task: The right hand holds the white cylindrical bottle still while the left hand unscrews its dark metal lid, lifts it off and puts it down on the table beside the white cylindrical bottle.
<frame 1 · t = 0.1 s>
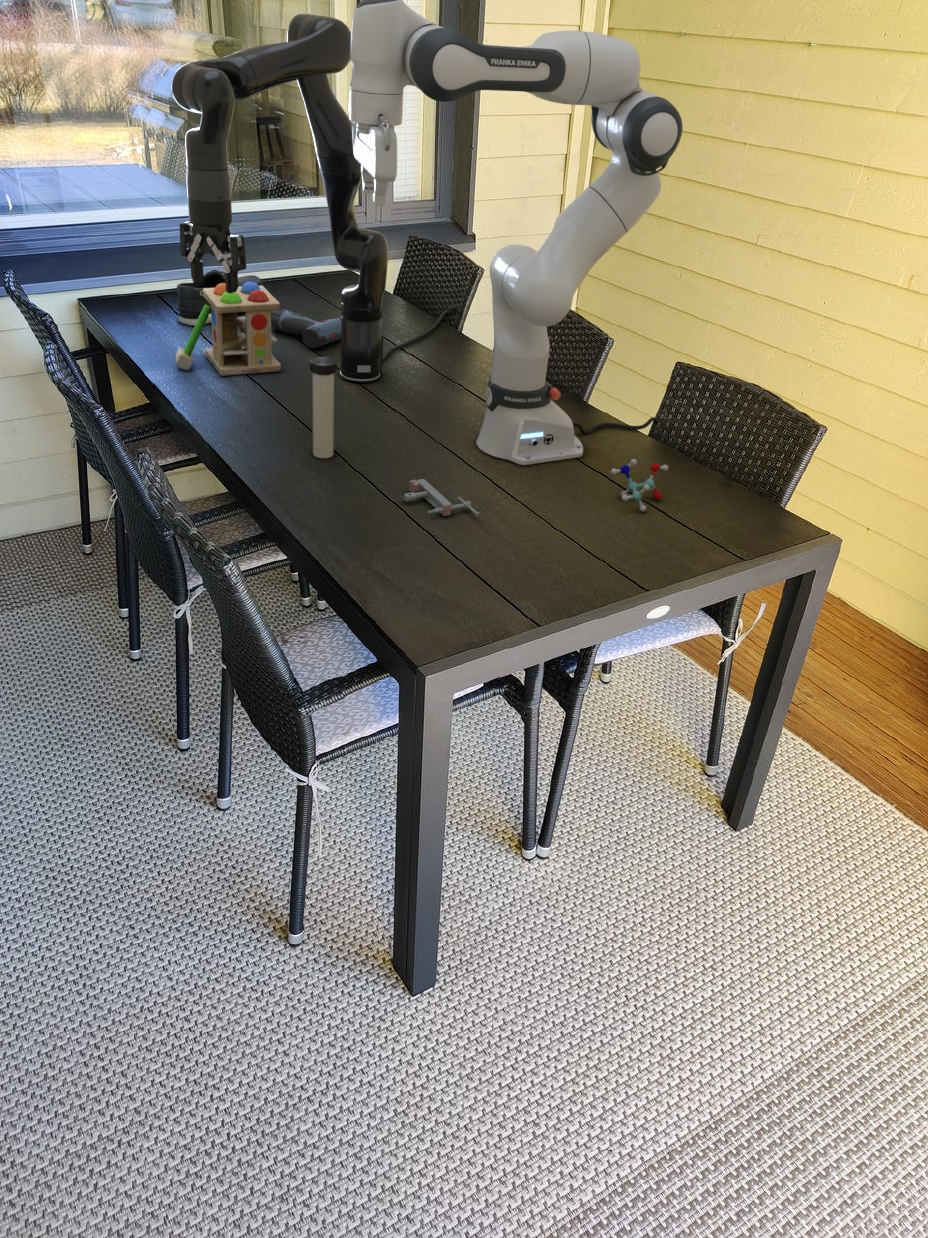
left hand: (214, 287, 183), 29 cm above the table, tool pointing down, fingers open, 8 cm apart
right hand: (373, 198, 171), 48 cm above the table, tool pointing down, fingers open, 8 cm apart
clamp: (437, 507, 181), on the table
lid: (323, 362, 185), point 19 cm above the table, screwed on, not yet turned
pounding bench toy: (225, 365, 230), on the table
white cylindrical bottle: (323, 453, 195), on the table
boat shoe: (223, 309, 264), on the table
molecular model: (633, 500, 190), on the table
power drill: (311, 334, 253), on the table
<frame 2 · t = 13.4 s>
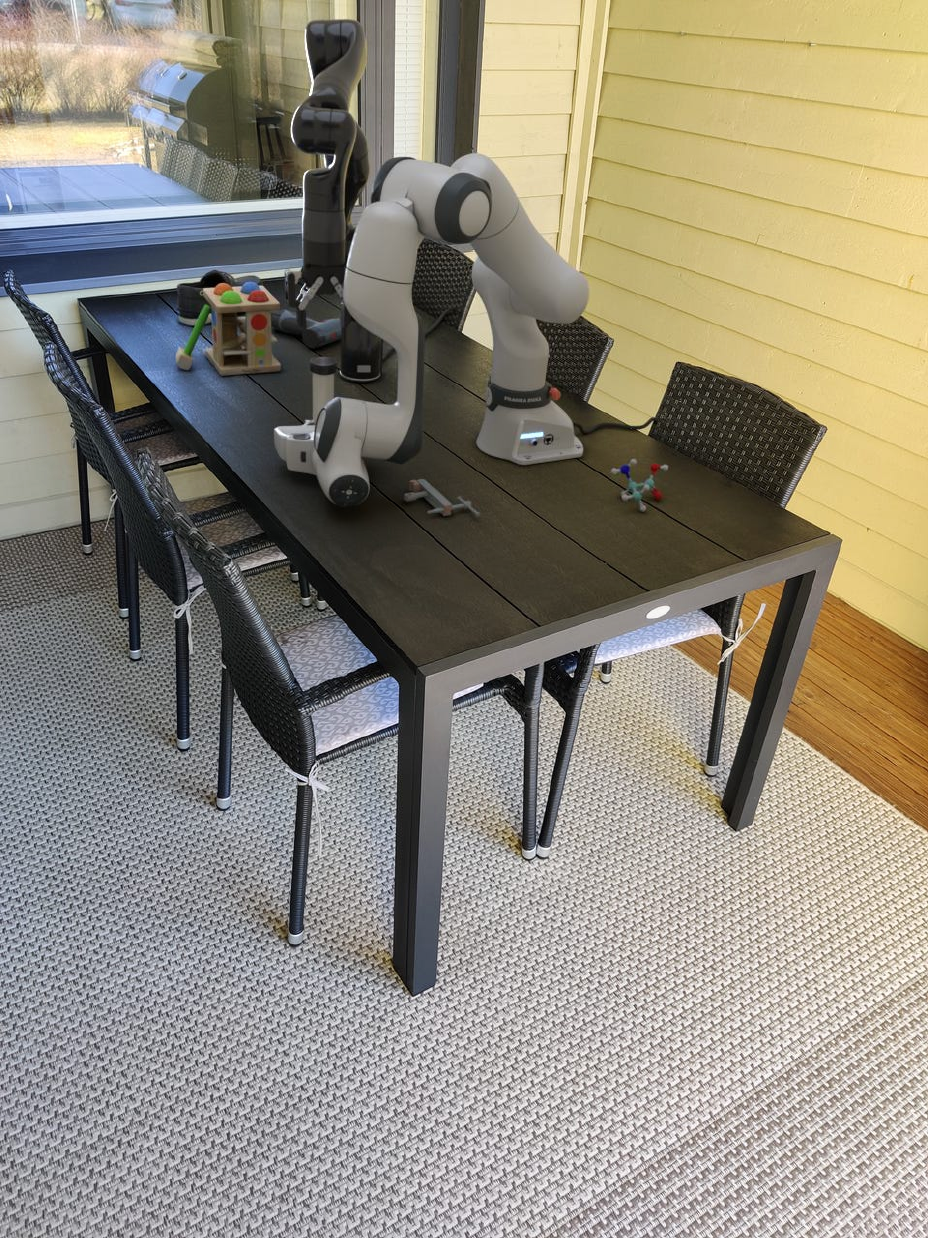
left hand: (323, 327, 181), 25 cm above the table, tool pointing down, fingers open, 7 cm apart
right hand: (322, 422, 193), 6 cm above the table, tool horizontal, fingers closed on white cylindrical bottle, 4 cm apart
white cylindrical bottle: (323, 453, 195), on the table, touching right hand
everything else where it was.
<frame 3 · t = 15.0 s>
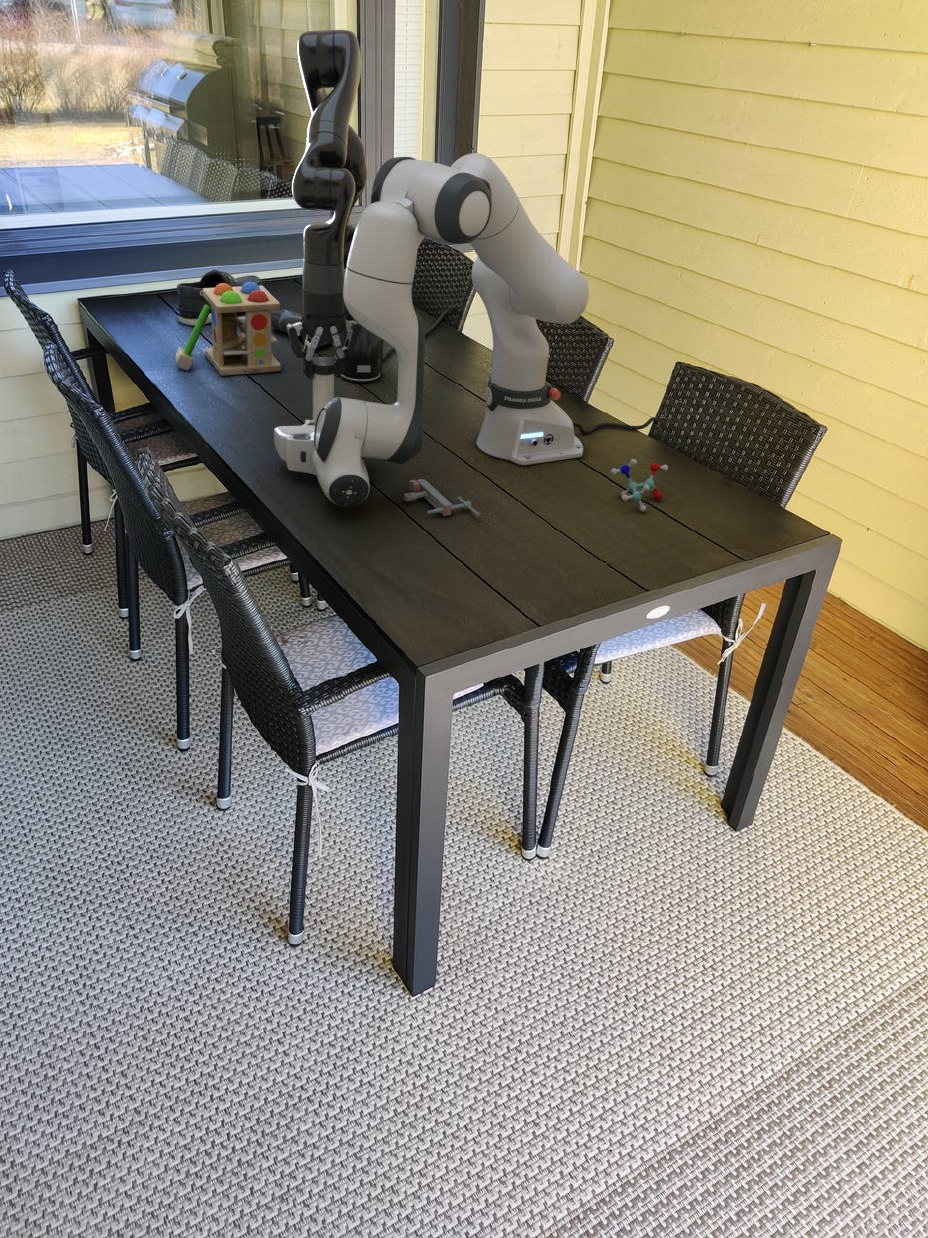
left hand: (323, 376, 186), 16 cm above the table, tool pointing down, fingers closed on lid, 4 cm apart
right hand: (322, 422, 192), 6 cm above the table, tool horizontal, fingers closed on white cylindrical bottle, 4 cm apart
lid: (323, 362, 185), point 19 cm above the table, screwed on, not yet turned, touching left hand
white cylindrical bottle: (323, 453, 195), on the table, touching right hand
everything else where it was.
when the left hand's fingers open (16 cm above the table, at t = 16.8 s): lid stays where it is, point 19 cm above the table.
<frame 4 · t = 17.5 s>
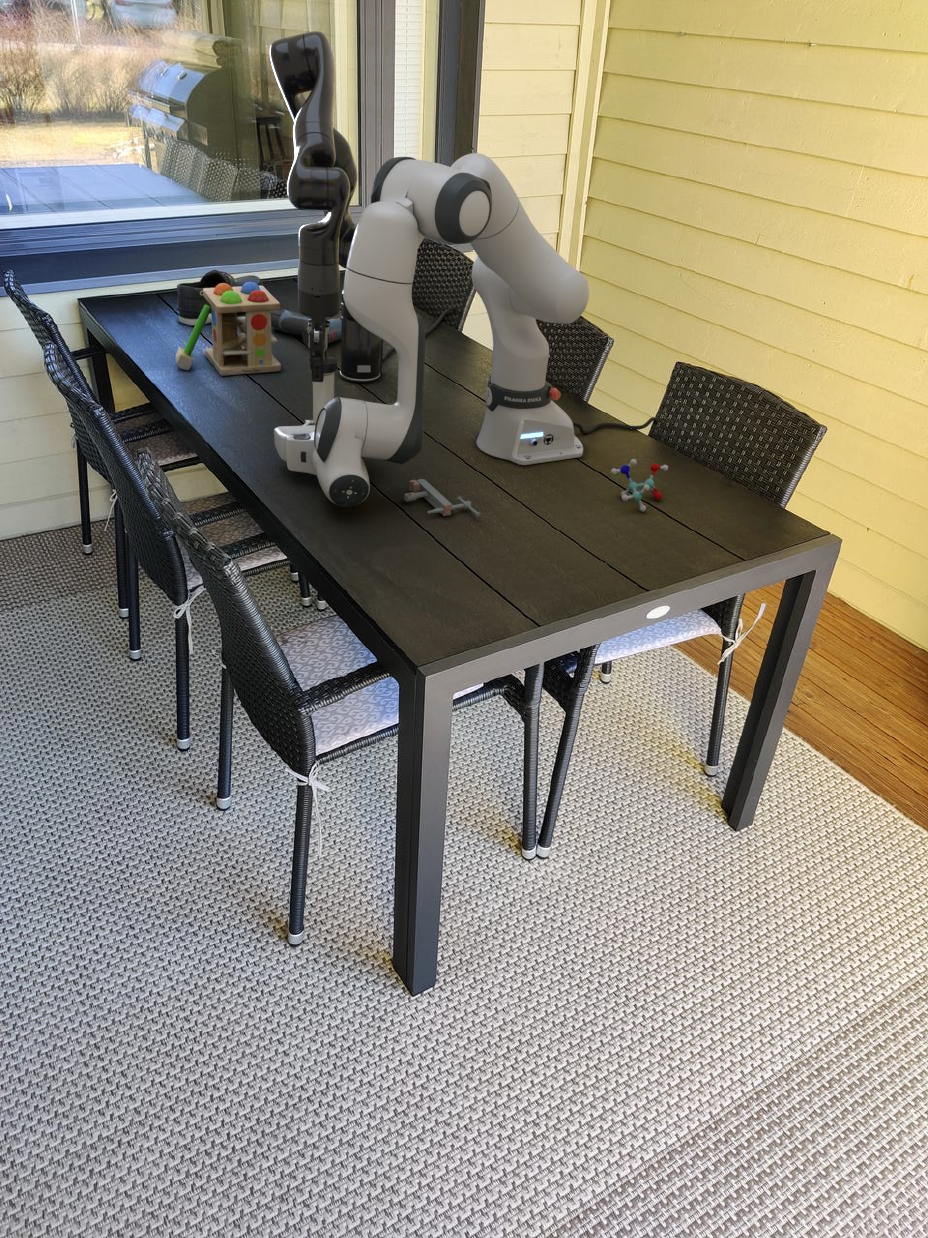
left hand: (319, 373, 186), 16 cm above the table, tool pointing down, fingers open, 7 cm apart
right hand: (322, 422, 192), 6 cm above the table, tool horizontal, fingers closed on white cylindrical bottle, 4 cm apart
lid: (323, 361, 185), point 19 cm above the table, turned 104° so far, risen 0.3 cm, still on its thread
white cylindrical bottle: (323, 453, 195), on the table, touching right hand
everything else where it was.
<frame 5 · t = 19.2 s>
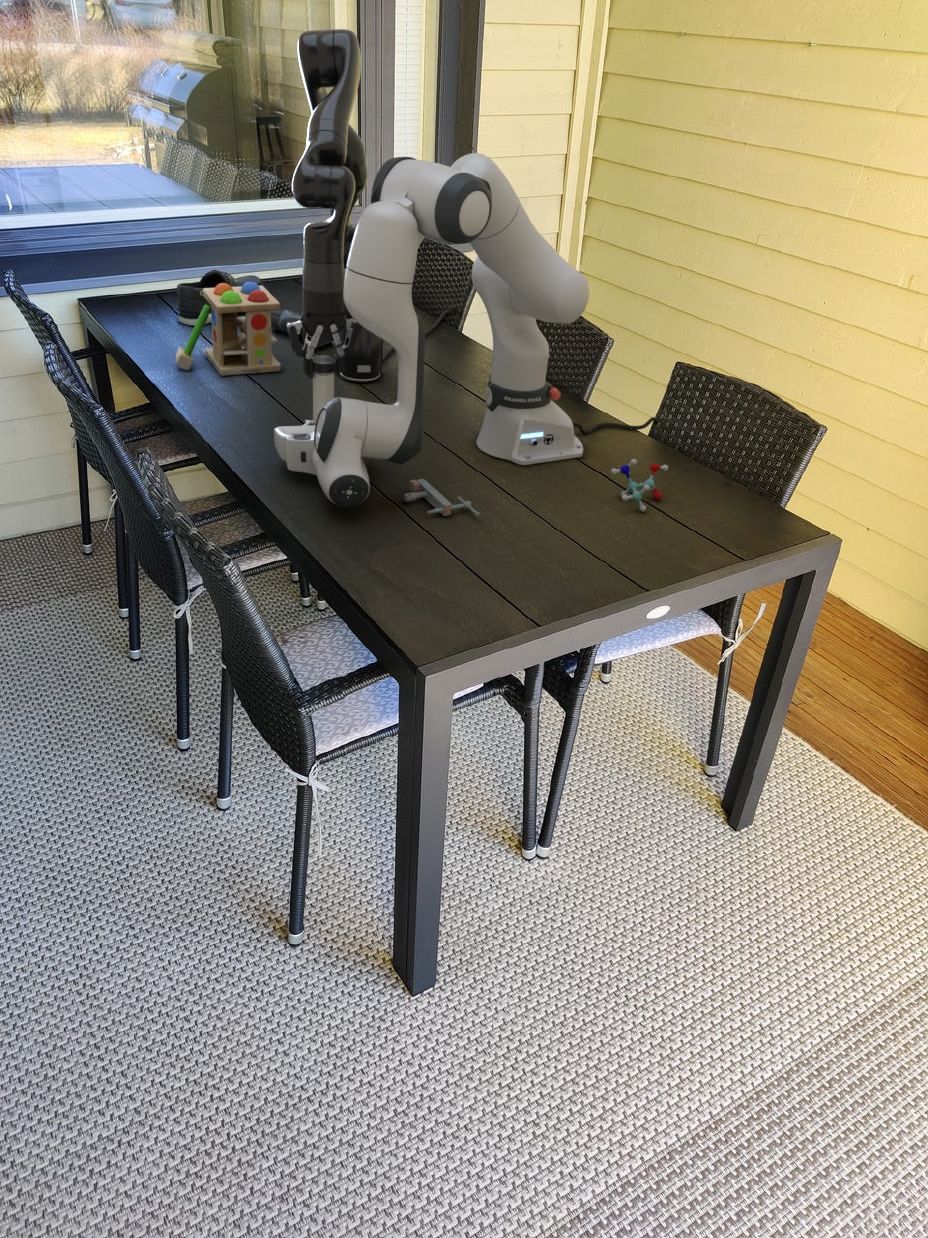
left hand: (323, 375, 186), 16 cm above the table, tool pointing down, fingers closed on lid, 4 cm apart
right hand: (322, 422, 192), 6 cm above the table, tool horizontal, fingers closed on white cylindrical bottle, 4 cm apart
lid: (323, 361, 185), point 19 cm above the table, turned 104° so far, risen 0.3 cm, still on its thread, touching left hand
white cylindrical bottle: (323, 453, 195), on the table, touching right hand
everything else where it was.
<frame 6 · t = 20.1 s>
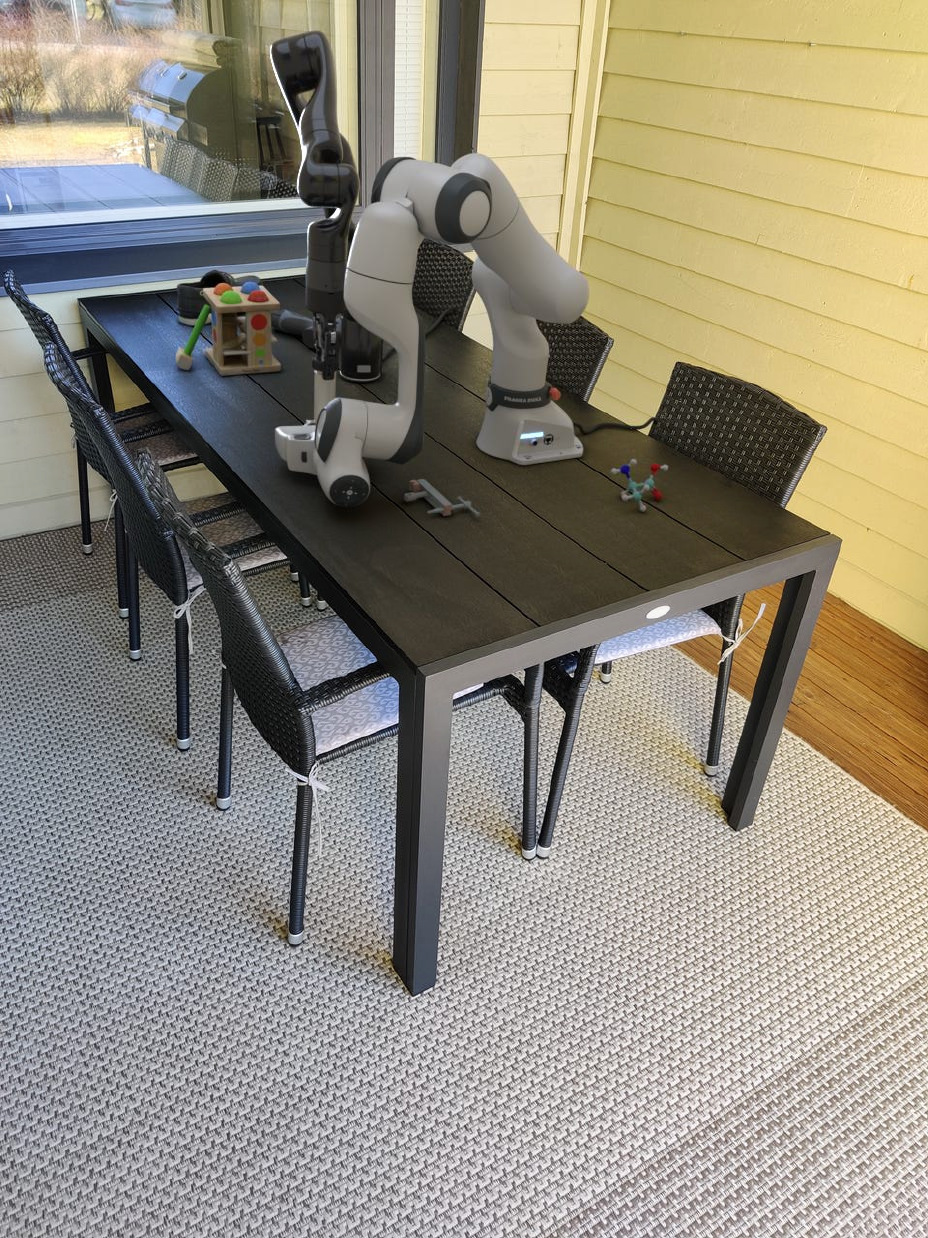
left hand: (325, 373, 186), 17 cm above the table, tool pointing down, fingers closed on lid, 4 cm apart
right hand: (323, 422, 193), 6 cm above the table, tool horizontal, fingers closed on white cylindrical bottle, 4 cm apart
lid: (325, 359, 185), point 19 cm above the table, turned 188° so far, risen 0.6 cm, still on its thread, touching left hand
white cylindrical bottle: (323, 453, 195), on the table, touching right hand
everything else where it was.
when the left hand's fingers open (0 cm above the table, at t = 25.8 s): lid drops 2 cm, point 1 cm above the table.
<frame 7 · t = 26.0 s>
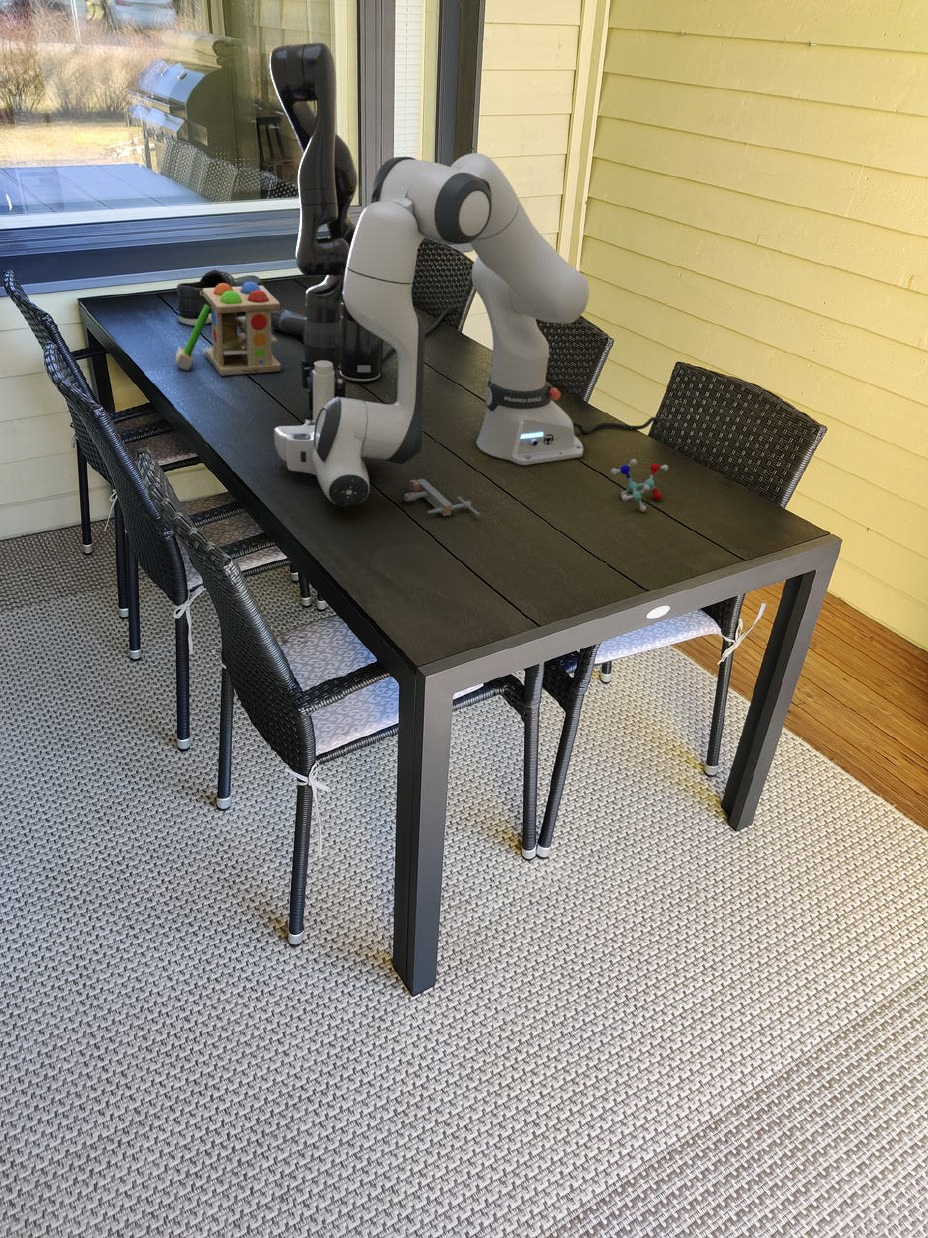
left hand: (323, 416, 209), 1 cm above the table, tool pointing down, fingers open, 6 cm apart
right hand: (322, 422, 193), 6 cm above the table, tool horizontal, fingers closed on white cylindrical bottle, 4 cm apart
lid: (322, 413, 208), point 1 cm above the table, off its thread
white cylindrical bottle: (323, 453, 195), on the table, touching right hand
everything else where it was.
when the right hand's fingers open (6 cm above the table, at t = 26.8 s): white cylindrical bottle stays where it is, on the table.
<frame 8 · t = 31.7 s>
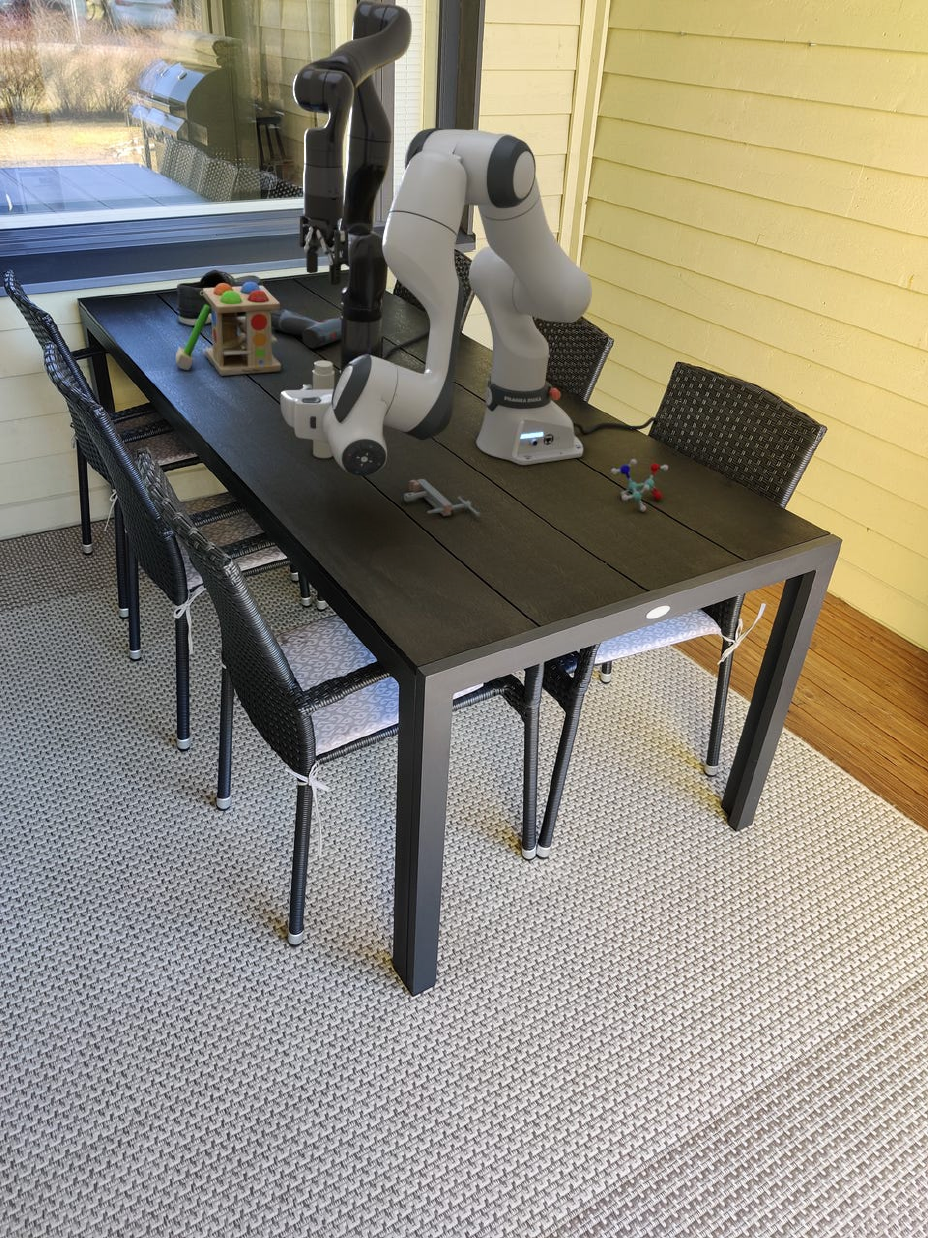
left hand: (323, 278, 193), 30 cm above the table, tool pointing down, fingers open, 8 cm apart
right hand: (333, 387, 176), 18 cm above the table, tool horizontal, fingers open, 8 cm apart
white cylindrical bottle: (323, 453, 195), on the table
everything else where it was.
at the end: lid came off its thread; lid point 1.5 cm above the table; the left hand is holding nothing; the right hand is holding nothing; white cylindrical bottle tilted 0°; white cylindrical bottle moved 0.1 cm from its start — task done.
